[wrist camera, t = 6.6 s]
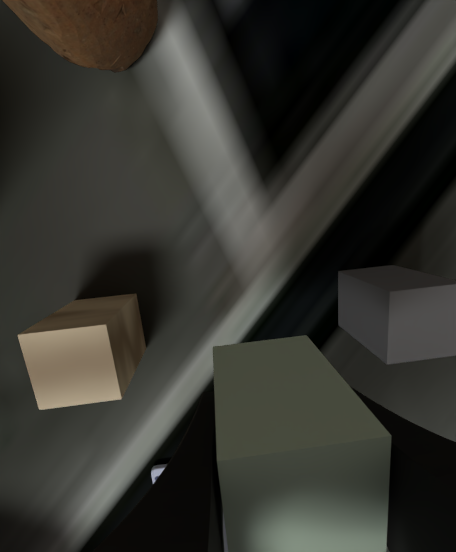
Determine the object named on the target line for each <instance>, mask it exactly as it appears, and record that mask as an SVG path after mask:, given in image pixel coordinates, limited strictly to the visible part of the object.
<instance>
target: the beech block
mask: <svg viewBox="0 0 456 552" xmlns="http://www.w3.org/2000/svg"><path fill="white" fill-rule="evenodd" d="M18 338H19V342H20V345H21V349H22V352H23V356H24V359H25V363H26V366H27V369H28V373H29V376H30V380H31V383H32V387H33V390H34V393H35V397H36V400H37V404H38V407H39V410H43V409H50V408H58V407H66V406H73V405H81V404H88V403H96V402H104V401H111V400H119V399H122V397H123V395H124V393H125V391H126V389H127V387H128V385H129V383H130V381H131V379H132V377H133V375H134V373H135V371H136V368H137V366H138V364H139V362H140V360H141V358H142V356H143V354H144V352H145V350H146V345H145V339H144V333H143V328H142V322H141V317H140V311H139V306H138V300H137V295H136V293H135V294H127V295H118V296H109V297H100V298H91V299H82V300H74V301H73V302H71V303H69V304H68V305H66V306H64V307H63V308H61V309H59V310H58V311H56V312H55V313H53V314H51V315H50V316H48V317H46V318H45V319H43V320H41V321H40V322H38V323H36V324H35V325H33V326H31V327H30V328H28V329H26V330H25V331H23V332H21V333H20V334H18Z"/></svg>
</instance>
